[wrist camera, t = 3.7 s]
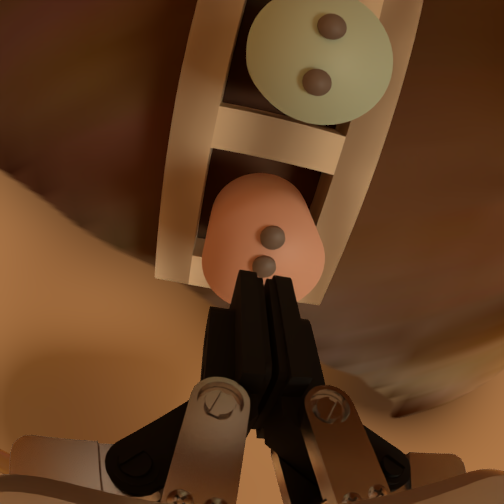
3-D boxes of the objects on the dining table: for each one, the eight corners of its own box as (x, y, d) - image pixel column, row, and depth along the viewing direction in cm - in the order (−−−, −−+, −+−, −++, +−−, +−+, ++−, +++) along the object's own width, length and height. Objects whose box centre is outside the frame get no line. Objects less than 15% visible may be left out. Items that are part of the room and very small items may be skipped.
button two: (366, 29, 11) (409, 18, 7) (339, 122, 13) (373, 143, 10) (259, -3, 10) (266, -31, 7) (235, 96, 13) (231, 106, 9)
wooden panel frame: (421, -82, 8) (436, -91, 6) (313, 285, 21) (319, 305, 19) (253, -135, 6) (254, -152, 5) (161, 258, 20) (154, 278, 18)
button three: (320, 185, 15) (343, 225, 11) (292, 266, 17) (303, 320, 14) (220, 163, 14) (211, 198, 11) (204, 251, 17) (194, 304, 13)
